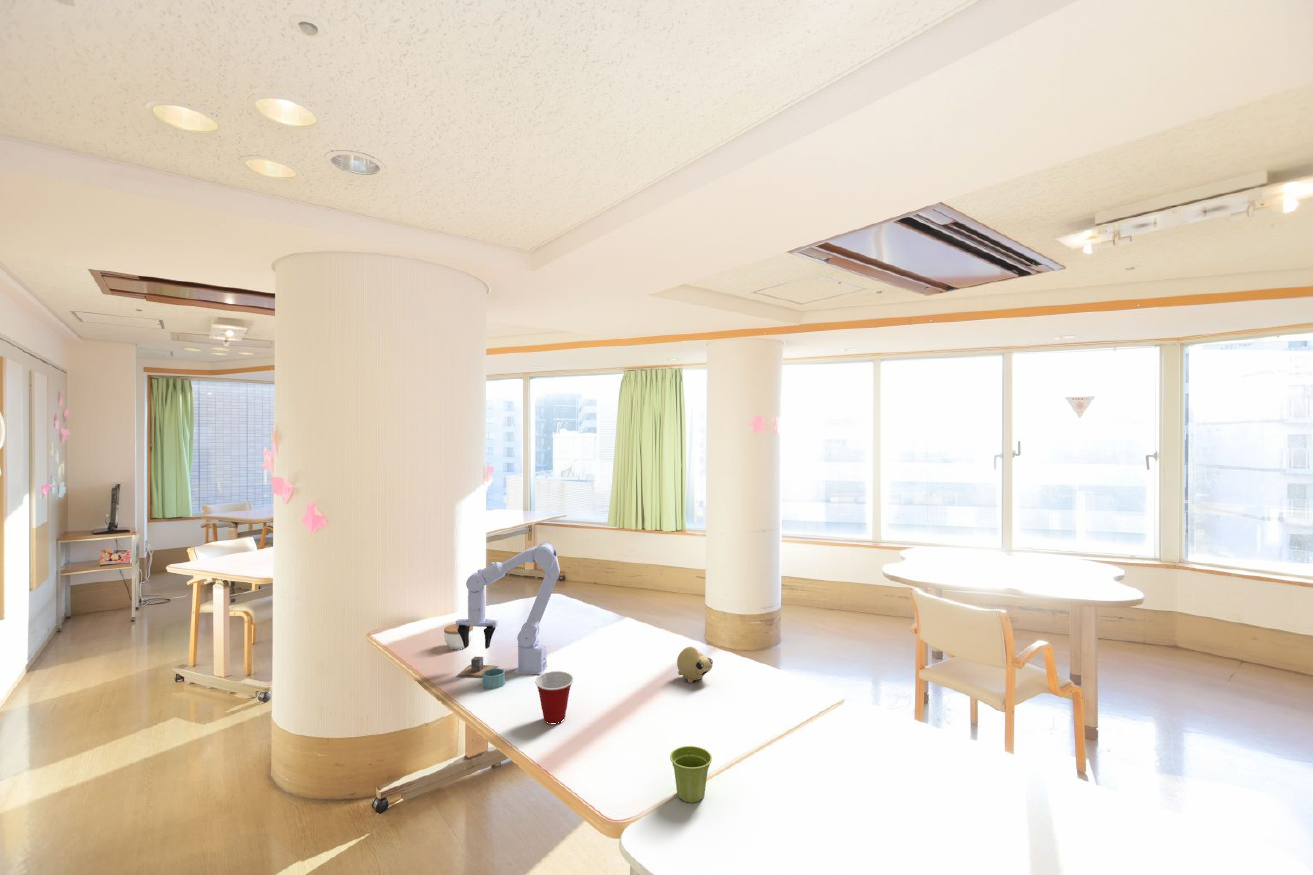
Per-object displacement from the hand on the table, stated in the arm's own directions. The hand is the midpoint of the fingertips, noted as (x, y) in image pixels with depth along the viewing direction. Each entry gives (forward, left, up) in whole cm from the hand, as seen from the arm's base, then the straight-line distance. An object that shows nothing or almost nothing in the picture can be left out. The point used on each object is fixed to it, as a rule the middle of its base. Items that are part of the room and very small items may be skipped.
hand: (476, 647), depth 208 cm
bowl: (-10, +11, -8) cm, 17 cm away
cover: (0, +1, -8) cm, 8 cm away
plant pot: (-78, +65, -9) cm, 102 cm away
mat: (0, +1, -8) cm, 8 cm away
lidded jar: (+18, -23, -9) cm, 31 cm away
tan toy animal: (-75, 0, -9) cm, 76 cm away
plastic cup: (-37, +33, -9) cm, 50 cm away
